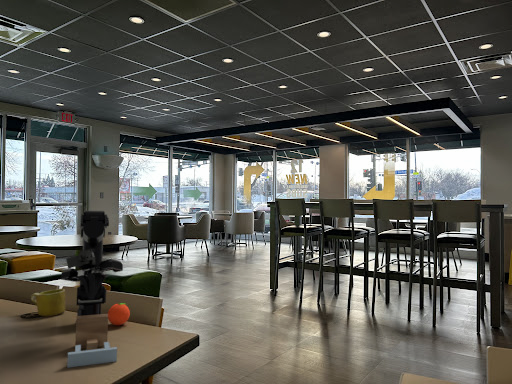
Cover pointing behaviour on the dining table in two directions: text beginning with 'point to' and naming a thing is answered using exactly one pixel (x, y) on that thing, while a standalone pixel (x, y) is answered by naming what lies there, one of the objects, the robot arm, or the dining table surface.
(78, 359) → the slot bracket
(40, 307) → the mug
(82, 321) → the brown upright blocky piece
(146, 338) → the dining table surface
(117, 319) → the clementine
